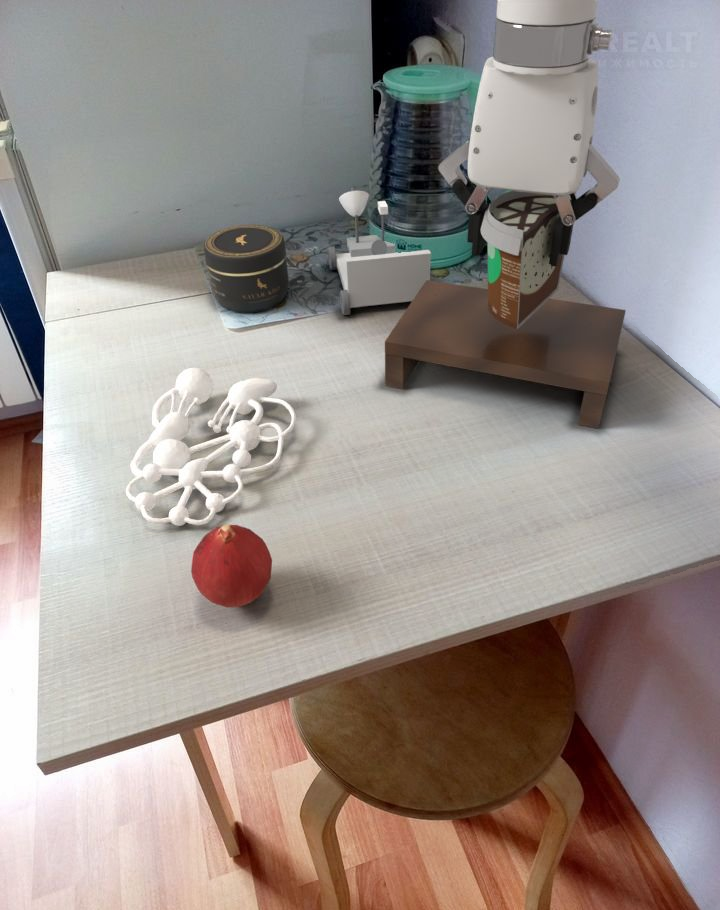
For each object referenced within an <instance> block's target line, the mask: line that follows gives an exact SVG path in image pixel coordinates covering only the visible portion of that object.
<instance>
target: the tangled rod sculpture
mask: <svg viewBox="0 0 720 910" xmlns="http://www.w3.org/2000/svg"><path fill="white" fill-rule="evenodd" d="M277 389H278V384H277V382H276V381H274V380H272V379H268V378H266V377H265V378H264V377H252V378H247V379H245V380H240V381H237V382H235V383H234V384H233V385H232V386H231V387H230V388H229V391H228V393H227V397H226V398H225V400H223V401H222V403H221V405H220V406H219V407H218V409H217V411H216V413H215V414H214V416H213V419H210V420H208V422H207V425H208V427H209V428H212V431H213V432H214V433H216V434H217V433H220V432H221V431H222V426H223V424H224V422H225V420H226V418H227V416H228V414H229V413H230V411H231V410H233V412H232V414H231V416H230V420H229V425H228V426H227V427H226V433H227V434H225V435H223V436H219V437H216V438H213V439H209V440H207V441H205V442H202V443H199V444H196V445H193V446H190V447H188V446H187V444H185V443H184V442H183V441H182V440H184V439H185V437H187V435H188V433H189V431H190V421H189V419H188V417H189V415H190V413H191V411H192V409H193V408H194V407H195V406H196V405H198V406H199V405H201V404H204V403H206V402H207V401H208V400H209V399H210V398H211V396H212V395H213V392H214V381H213V379H212V376H211V375H210V374H209V373H208V372H207V371H206V370H204V369H203V368H199V367H188V368H186V369H184V370H182V371H181V372H180V374H179V375H178V376H177V377H176V381H175V386H174V387H173V388H171V389H169V390H168V391H167V392H165V393H163V394H162V395H161V396H160V397H159V398H158V399H156V402H155V404H153V407H152V412H151V422H152V423H151V424H152V426H153V427H154V428H155V430H153V432H152V433H151V434H150V435H149V437H148V440H147V441H145V442H144V443H143V444H141V446H139V448H138V449H137V451H136V452H135V455H134V457H133V459H132V460H131V461H130V470H131V472H132V474H133V475H134V476H135V477H134V478H133V479H132V480H131V481H130V482H129V483H128V484H127V485H126V488H125V495H126V496H127V498H128V499H129V500H130V501H132V502H133V503H134V504H135V507H136V509H138V510H139V511H140V512H141V515H142V517H143V519H145V520H147V521H148V522H149V523H153V524H166V523H171V524H172V525H174V526H179V527H181V526H184V525H185V524H186V523H187V524H189V525H194V526H201V525H207V524H208V523H209V522H210V521H212V519H213V518H214V517H215V515H216V513H220V512H221V511H223V510H224V508H225V507H226V504H228V503H230V502H231V501H233V500H235V499H237V498H238V497H239V495H241V493H242V492H243V490H244V483H243V479H242V476H243V475H251V474H255V473H259V472H262V471H266V470H268V469H271V468H272V467H274V466H275V465H276V464H277V463H278V462H279V461H280V459H281V457H282V454H283V448H284V439H285V438H286V437H287V436H289V434H290V433H292V431H293V430H294V428H295V426H296V424H297V415H296V411H295V409H294V408H293V407H292V405H291V404H289V403H288V402H287V401H285V400H283V399H281V398H273V397H271V396H273V394H274V393H275V392H276V391H277ZM177 395H178V398H179V399H180V400H181V401H180V404H179V407H178V410H177V411H175V406H176V396H177ZM170 399H171V407H170V411H169V413H168V414H166V415H165V416H164V417H163V418H162V419H161V420H160V418H161V416H160V415H161V410H162V407H163V406H164V405H165V404H166V403H167V402H168V401H170ZM262 402H263V403H269V404H270V403H271V404H279V405H281V406H283V407H285V408H286V410H288V412H289V414H290V416H291V421H290V424H289V426H288V427H287V428H286V429H285V430H283V428H282V427H281V426H280V425H279V424H277V423H276V422H264V423H261V424H260V422H261V420H262V418H263V415H264V407H263V405H262V404H261V403H262ZM185 403H186V404H188V405H189V406H188V408H187V410H186V412H185V414H184V413H183V412H182V411H183V408H184V404H185ZM228 404H229V405H228ZM227 405H228V406H227ZM226 406H227V408H225V407H226ZM224 409H225V411H224V412H223V414H222V411H223V410H224ZM253 411H255V414H254V415H253V417H252V418H251V419H250V420H248V419H241V420H239V421H236V422H235V419H236V417H237V414H240V415H248V414H250V413H251V412H253ZM221 414H222V416H221V417H220V415H221ZM219 418H220V419H219ZM218 419H219V421H218ZM217 421H218V424H217ZM268 428H269V429H270V428H273V429H275V430H276V431H277V435H275V436H265V435H262V433H261V430H264V429H268ZM225 442H226V443H225ZM260 442H264V443H275V442H277V449H276V453H275V456H274V458H273V459H271V460H270V461H269V462H267V463H265V464H263V465H260V466H256V467H249V468H246V467H247V466H249V465H250V464H251V461H252V455H251V453H250V451H252V450H254V449H256V448H257V446H258V445H259V443H260ZM222 443H224V444H223V445H222V446H220V447H219V448H217V449H216V450H214V451H213V452H211V453H210V454H209V455H207V456H206V457H200V458H197V459H196V458H195V459H193V460H191V454H193V453H197V452H200V451H202V450H206V449H208V448H210V447H215V446H217V445H220V444H222ZM232 447H234V448H235V449H236V450H235V451H234V452H233V454H232V457H231V460H232V463H229V464H227V465H225V466H224V467H223V469H222V470H207V468H208V465H209V464H210V463H211V462H212V461H214V460H215V459H217V458H218V457H219V456H221V455H223V454H224V453H225V452H228V451H229V450H230V449H231V448H232ZM152 448H154V450H153V453H152V462H151V463H147V464H146V465H145V466H144V467H143V469H141V468H140V465H141V463H142V461H143V458H144V455H145V454H146V453H147V452H148V451H149V450H150V449H152ZM241 468H243V469H241ZM162 476H178V482H175V483H173V484H171V485H169V486H167V487H165V488H163V489H160V490H159V491H156V492H154V493H151V492H148V491H142V492H140V493H138V494H137V496H134V495H133V494H132V489H133V487H134V486H135V485H136V484H137V483H138V482H139V481H141V480H143V479H144V480H145V481H146V482H148V483H156V482H158V481H160V480H161V478H162ZM207 478H210V479H212V478H223V480H225V482H227V483H230V484H234V483H237V489H236V490H235V492H233V493H232V494H231V495H229V496H228V497H224V495H222V494H221V493H219V492H212V491H211V490H209V488H208V487H206V486H205V485H204V484H203V483H202V482H203V479H207ZM182 488H184V490H183V492H182V494H181V496H180V499H179V501H178V503H177V505H176V506H174V507H172V508H171V509H170V510H169V513H168V517H161V518H157V517H153V516H151V515H150V514H149V513H148V512H150V511H152V510H153V508H154V507H155V506H156V501H157V500H159V499H161V498H162V497H165V496H167V495H169V494H172V493H174V492H176V491H178V490H180V489H182ZM196 489H197V490H198V491H199V492H200V493H201V494H202V495H203V496H204V497H206V499H205V507H206V508H207V510H208V511H209V515H207V516H206V517H204V518H203V519H194V518H190V512H189V510H188V509H187V508H186V505H187V503H188V501H189V499H190V497H191V495H192V493H193V491H194V490H196Z"/></svg>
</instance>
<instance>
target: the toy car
mask: <svg viewBox="0 0 720 910" xmlns="http://www.w3.org/2000/svg"><path fill="white" fill-rule="evenodd" d="M369 197H370V196H369V192H367V191H364V190H355V186H351V187H350V191H346V192H344V193H342V194H341V195H340V196H339V198H338V201H339V203H340V204H341V206H342V207H343V209H344V211H346V213H347V214H349V216H350V217H353V218H354V226H355V227H354V228H355V229H354V231H355V236H352V237H351V236H350V237H346V246H347V249H348V252H344V253H337V250H336V247H335V246H329V247H328V248H327V254H328V263H329V264H328V265H329V269H330V270H331V271H336V270H337V272H338V275H339V278H340V282H341V285H342V289H340V291H339V298H340V299H339V300H340V307H341V309H340V310H341V313H342V316H349V315H351V309H352V308H361V307H368V306H369V307H370V306H378V305H389V304H398V303H399V304H400V303H406V302H407V303H409V302H412V301H413V299H414V298H415V296H416V295H417V293H418V292H419V290H420V289H421V287H422V286H423V285H424V283H425V282H426V280H430V281H431V266H432V265H431V264H432V263H431V261H432V252H431V251H430V249H422V250H416V251H411V252H401V253H398V252H395V248H396V244H395V243H394V244H393V243H390V242H387V241H385V234H386V232H385V215H389V205H388V204H387V202H386V200H379V201H377V211H378V213H379V215H380V216H381V218H380V219H381V221H380V224H381V234H382V239H381V238H380V237H378V236H377V235H378V234H371V235H370V234H369V235H362V236H361V235H360V236H359V217H360V216H361V215H362V214H363V213H364V211H365V208H366V207H367V204H368V201H369Z"/></svg>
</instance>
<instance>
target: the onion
mask: <svg viewBox="0 0 720 910" xmlns="http://www.w3.org/2000/svg"><path fill="white" fill-rule="evenodd" d="M272 567H273V558H272V555H271V553H270V550H269V547H268V546H267V543H266V542H265V541H264V539H263V538H262V537H261V536H260V535H258V534H257V533H256V532H254V531H253V530H252V529H250V528H248V527H245V526H241V525H238V524H224V525H220V526H216V527H214V528H213V529H212V530H211V531H209V532H207V533H206V534H204V536H202V538H201V540H200V541H199V542H198V544H197V546H196V547H195V549H194V551H193V553H192V560H191V570H190V572H191V573H190V574H191V577H192V580H193V582H194V584H195V586H196V588H197V590H198V591H199V593H200V595H202V597H204V598H205V599H207V600H208V601H209V602H211V603H212V604H215V605H218V606H221V607H225V608H239V607H243V606H245V605H248V604H250V603H251V604H252V602H254V601H255V600H256V599H258V598H259V597H260V596H261V595H262V594H263V593H264V590H265V589H266V588H267V585H268V583H269V582H270V581H271V577H272Z"/></svg>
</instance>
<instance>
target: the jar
mask: <svg viewBox="0 0 720 910" xmlns="http://www.w3.org/2000/svg"><path fill="white" fill-rule="evenodd" d="M203 253H204V263H205V266H206V268H207V273H208V278H209V284H210V288H211V291H212V294H213V296H214V298H215V300H216V302H217V303H218V304H219V305H220V306H222V307H223V308H224V309H226V310H227V311H230V312H233V313H242V314H245V313H246V314H247V313H248V314H251V313H259V312H264V311H267V310H270V309H272V308H274V307H276V306H277V305H279V304H280V303H281V302H283V300H284V298H285V297H286V296H287V293H288V287H289V271H288V262H287V249H286V242H285V238H284V236H283V234H282V233H281V232H280V231H279V230H278V229H275V228H273V227H271V226H267V225H262V224H261V225H260V224H242V225H241V224H240V225H234V226H230V227H225V228H223V229H220V230H218V231H216V232H214V233H212V234H211V235H209V236H208V237H207V238H206V239H205V241H204V244H203Z"/></svg>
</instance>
